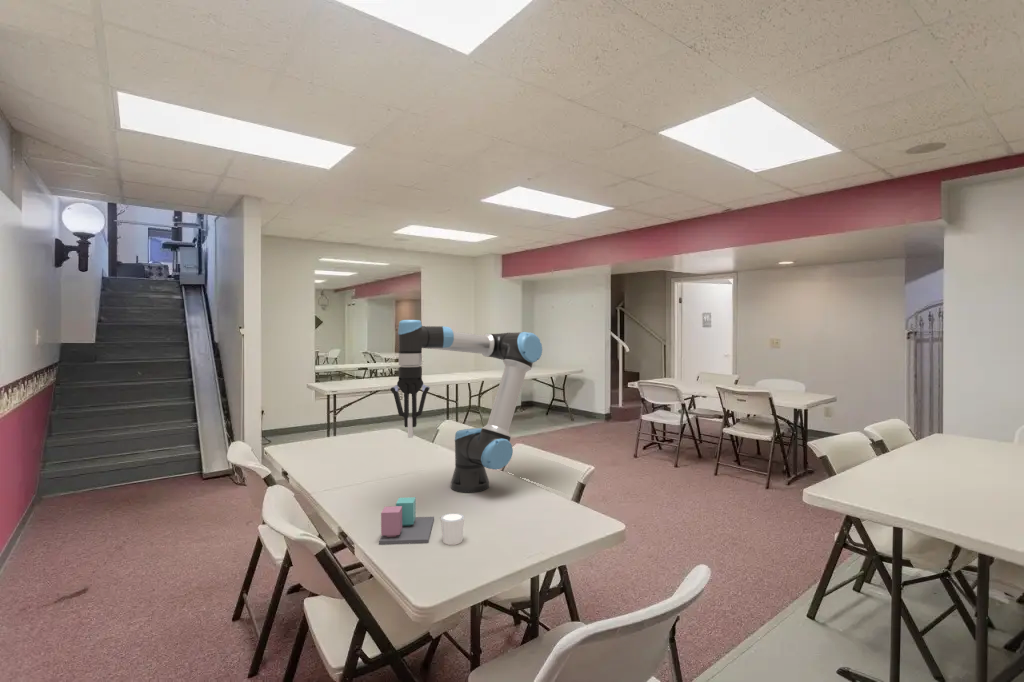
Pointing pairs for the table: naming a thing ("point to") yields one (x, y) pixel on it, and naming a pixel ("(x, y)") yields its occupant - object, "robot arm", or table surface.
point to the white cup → (452, 528)
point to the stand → (403, 528)
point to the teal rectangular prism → (407, 509)
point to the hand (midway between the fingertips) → (410, 436)
